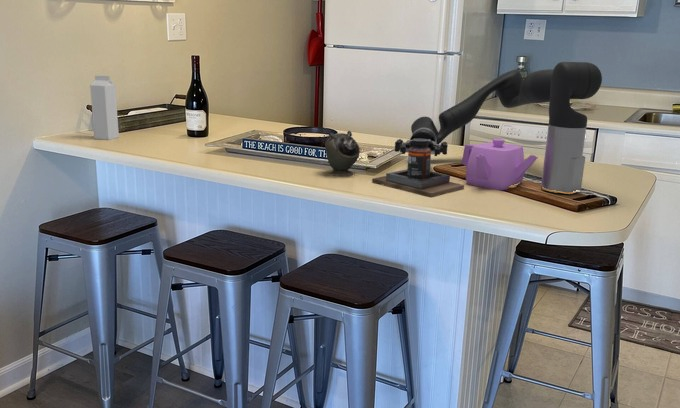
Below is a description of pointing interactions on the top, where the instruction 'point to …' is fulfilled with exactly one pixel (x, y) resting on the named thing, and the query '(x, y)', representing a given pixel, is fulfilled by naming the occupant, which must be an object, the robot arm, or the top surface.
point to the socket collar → (402, 179)
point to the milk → (104, 108)
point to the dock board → (427, 192)
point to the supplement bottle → (419, 160)
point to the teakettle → (495, 164)
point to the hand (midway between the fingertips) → (419, 151)
